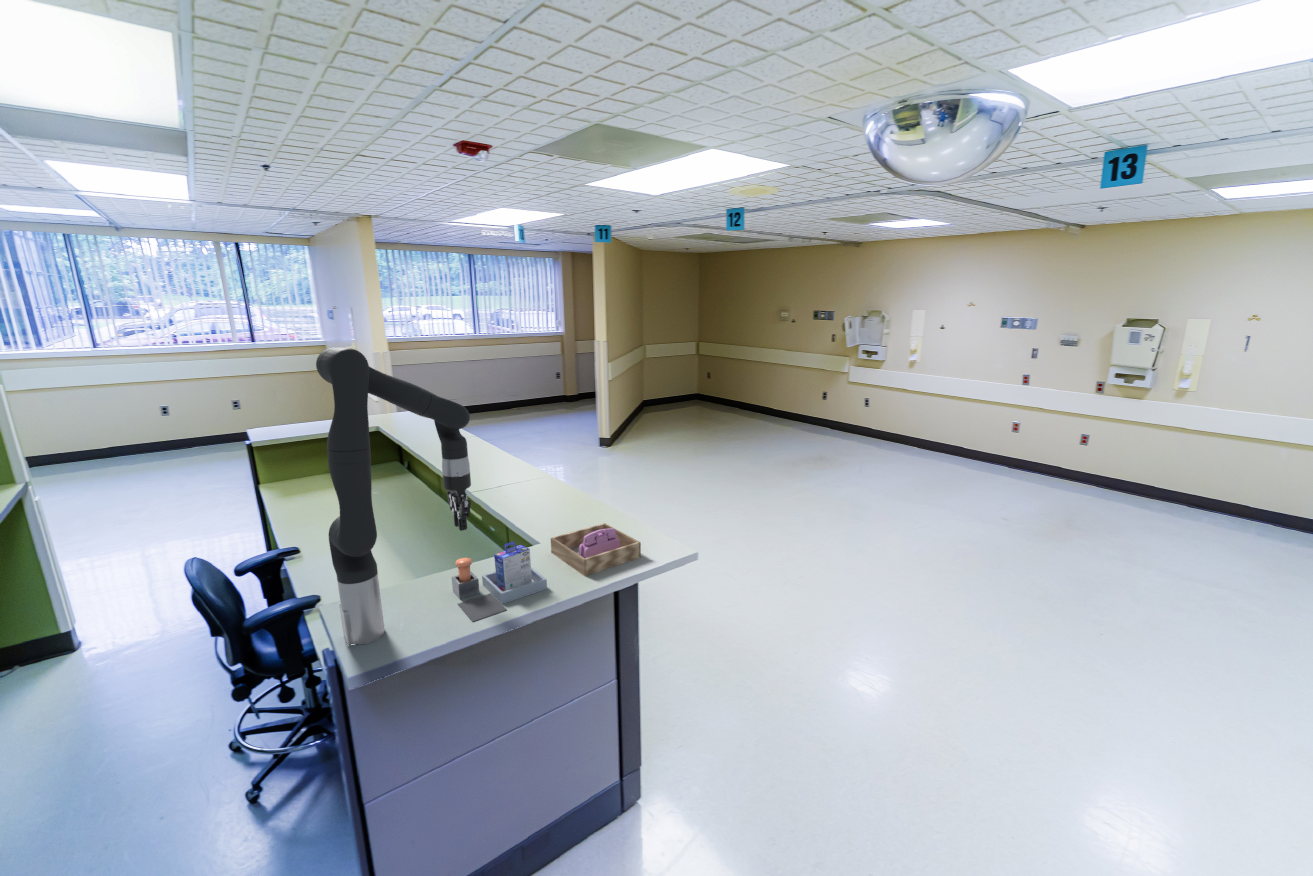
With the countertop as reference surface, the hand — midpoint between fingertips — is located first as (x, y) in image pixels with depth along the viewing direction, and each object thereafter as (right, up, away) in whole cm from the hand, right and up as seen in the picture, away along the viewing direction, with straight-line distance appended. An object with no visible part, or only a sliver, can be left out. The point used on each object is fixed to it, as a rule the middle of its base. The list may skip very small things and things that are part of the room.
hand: (460, 527), depth 164 cm
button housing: (0, -21, +5) cm, 21 cm away
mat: (+8, -23, -4) cm, 24 cm away
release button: (0, -18, +4) cm, 19 cm away
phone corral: (+37, -15, +30) cm, 50 cm away
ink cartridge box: (+14, -20, +8) cm, 26 cm away
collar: (+14, -20, +8) cm, 26 cm away
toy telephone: (+37, -16, +29) cm, 49 cm away
